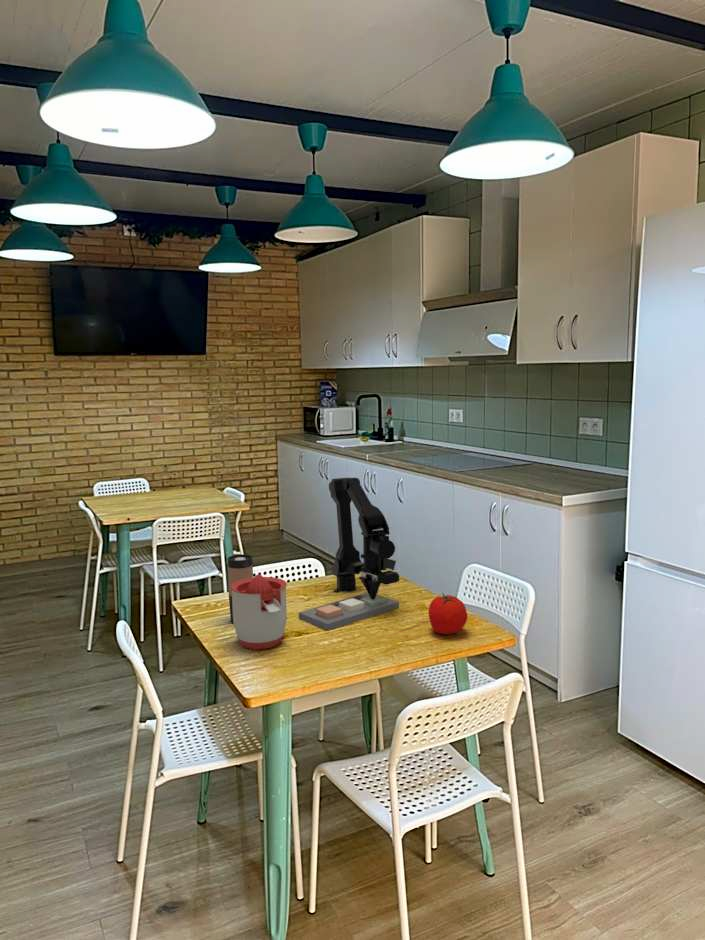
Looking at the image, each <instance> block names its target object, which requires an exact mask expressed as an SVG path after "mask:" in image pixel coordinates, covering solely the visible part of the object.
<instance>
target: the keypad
mask: <svg viewBox="0 0 705 940" xmlns="http://www.w3.org/2000/svg"><path fill="white" fill-rule="evenodd" d="M376 596H378V597H381V598H384V599H386V602H384V603H381V604H377V605H374V606H371V605H368V604H365V603H364V609H361V610H358V611H355V612H351V613H350V612H347V611H345V610H342V616H338V617H335V618H332V619H328V620H327V619H324V618H322V617H319V616H317V615H316V609H317V608H320V607H324V606H327V605H333V606H336V607H338V608H339V602H341V601H344V600H348V599H351V598H354V599H357V600H359V601H361V599H362V598H365V597H369V594H368V592H365V593H361V594H358V595H354V596H351V597H346V598H344V599H340V600H336V601H334V602H330V603H327V604H322V605H320V606H315V607H312V608H308V609H305V610H302V611H299V612H298V620H300V621H303V622H306V623H308V624H310V625H313V626H315V627H318V628H319V629H322V630H325V631H327V632H329V631H331V630H334V629H337V628H341V627H344V626H347V625H350V624H354V623H356V622H359V621H364V620H366V619H369V618H372V617H375V616H378V615H382V614H385V613H388V612H390V611H394V610H398V609H399V608H400V606H399V605H400V603H399V600H398V601H397V600H394V599H391V598H388V597H386V596H382V595H379V594H377V595H376Z"/></svg>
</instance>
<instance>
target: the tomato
mask: <svg viewBox="0 0 705 940" xmlns="http://www.w3.org/2000/svg"><path fill="white" fill-rule="evenodd" d="M441 593H442V596H436V597H434V598H433V599H432V601H431V602H430V604H429V606H428V618H429V619H428V620H429V622H430V626H431V628H432V629H433V631H434V632H435V633H436V634H442V635H450V634H456V633H458V632H460V631H461V630H463V628H464V627H465V625H466V623H467V620H468V613H467V608H466V605H465V604H464V602H463V601H461V599H460V598H458V597H457V596H453V595H450V594H446V595H445V594H444V592H441Z"/></svg>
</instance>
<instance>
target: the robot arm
mask: <svg viewBox="0 0 705 940" xmlns="http://www.w3.org/2000/svg"><path fill="white" fill-rule="evenodd" d="M328 491H329V492H330V497H331V499H332V501H334V503H335V505H336V506H335V507H336V515H337V517H336V519H337V529H338V530H337V531H338V543H339V545H338V546H339V547H338V548H337V551H336V553H335V560H334V562H333V564H332V566H331V573H332V575H333V576H335V577H336V588H334V589H333V592H335V593H340V592H348V593H352V592H356V591H357V584H356V583H357V581H356V575H360V576H359V577H358V579H359V580H360V581H361V583H362V585H363V587H364V588H365V590H366V591H367V592H368V594H369V596H370V598H371V599H375V598H376V595H378V592H379V588H380V586H381V585H386V586H388V585H391V584H394V583H397V582H400V574H399V573H398V572H397V571H394V570H395V566H396V563H397V560H394V559H390V558H391V557H393V555H394V553H395V552H396V546H395V543H394V542H393V541H392V540H390V536H389V535H390V534H391V533H390V526H389V524H388V522H387V520H386V517H385V515H384V514H383V512H382V511H381V510H380V508H379V507H377V506H375V505H373V504H372V503H371V501H370V499H369V497H368V496H367V494H366V492H365V490H364V489H363V487H362V485H361V480H360V479H359V478H358V477H339V478H332V479H331V481H330V482H329V483H328ZM351 503H353V506H354V507H355V509H356V510H357V513H358V519H357V521H358V524H359V527H360V529H361V533H360V535H362V536H363V537H362V539H363V540H362V542H363V544H362V545H363V549H362V550H363V553H361V554H360V551H359V550H358V549H356V547H355V545H354V534H353V525H352V524H353V523H352V521H353V519H352V511H351V510H352V509H351V508H352V507H351ZM361 559H363V562H362V560H361ZM387 569H388V570H387ZM367 592H366V593H367Z"/></svg>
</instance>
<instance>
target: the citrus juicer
mask: <svg viewBox="0 0 705 940" xmlns="http://www.w3.org/2000/svg"><path fill="white" fill-rule="evenodd" d="M287 586H288V584H287V581H286V580H284V579H282V578H279V577H271V576H263V575H262V574H260V573H258V574H256V575H255V576H253V578H247V579H242V580H239V581H237V582H235V583H233V584H232V585H231V589H232V608H233V622H234V624H233V626H234V627H233V628H234V630H235V633H236V637H237V640H238V641H239V644H240V645H241V646H242V647H244V648H246V649H250V650H252V651H253V650H254V651H258V650H266V649H270V648H273V647H276V646H278V645H280V644H281V642H282V640H283V637H284V636H285V630H286V627H287V620H288V619H287V618H288V617H287V616H288V614H287V612H288V611H287Z"/></svg>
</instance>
